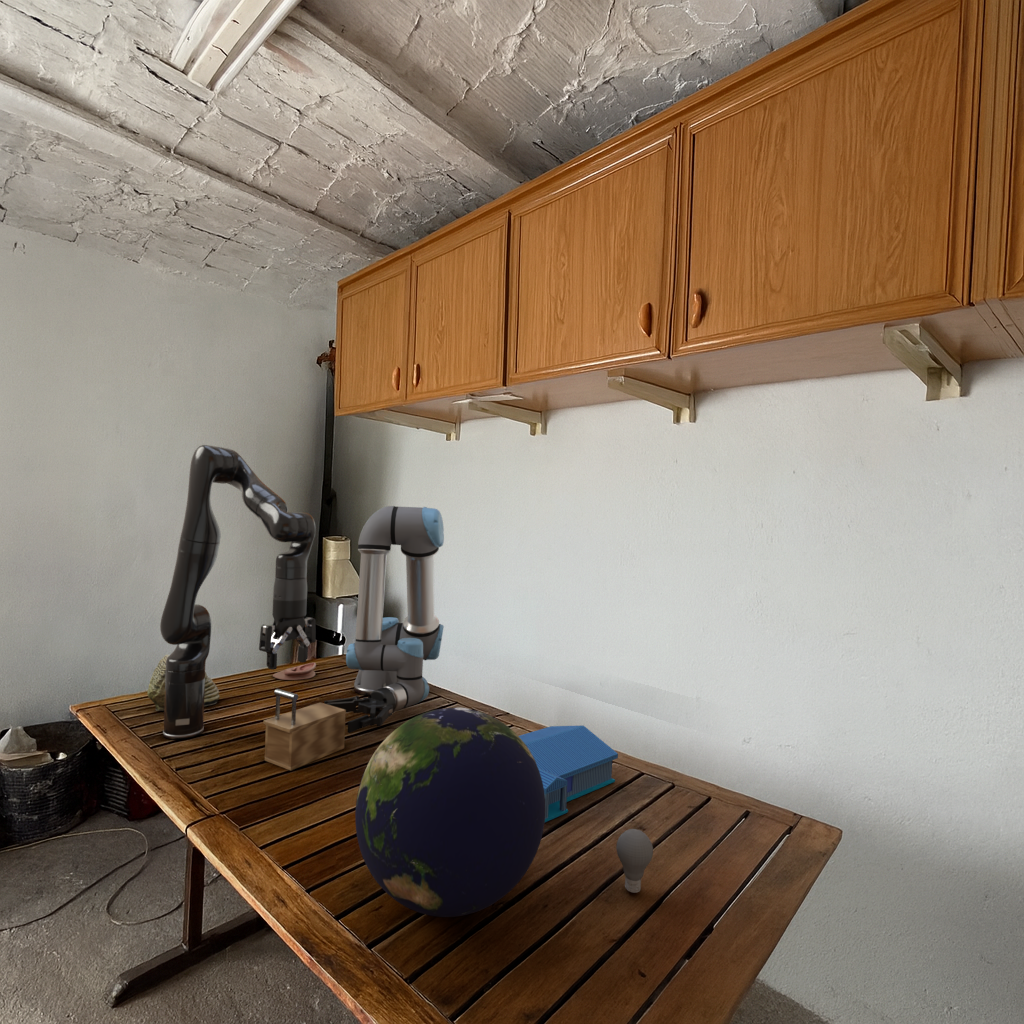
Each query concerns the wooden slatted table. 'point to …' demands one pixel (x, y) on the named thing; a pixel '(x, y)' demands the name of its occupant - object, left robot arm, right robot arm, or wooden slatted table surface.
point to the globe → (450, 812)
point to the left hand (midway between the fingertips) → (287, 665)
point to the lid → (300, 714)
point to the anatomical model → (297, 672)
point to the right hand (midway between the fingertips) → (329, 721)
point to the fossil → (158, 687)
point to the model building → (569, 764)
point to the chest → (304, 743)
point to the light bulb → (634, 857)
